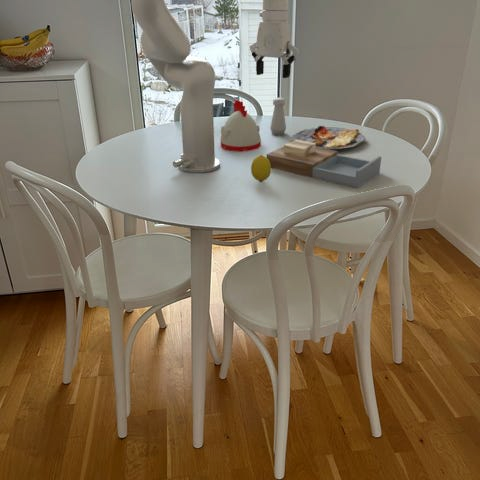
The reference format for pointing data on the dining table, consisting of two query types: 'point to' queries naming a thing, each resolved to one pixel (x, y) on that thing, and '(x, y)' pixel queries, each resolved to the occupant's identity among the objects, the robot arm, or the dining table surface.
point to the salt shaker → (278, 117)
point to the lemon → (261, 168)
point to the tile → (299, 148)
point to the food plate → (331, 137)
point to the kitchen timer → (240, 131)
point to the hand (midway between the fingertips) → (272, 75)
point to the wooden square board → (299, 161)
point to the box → (347, 170)
